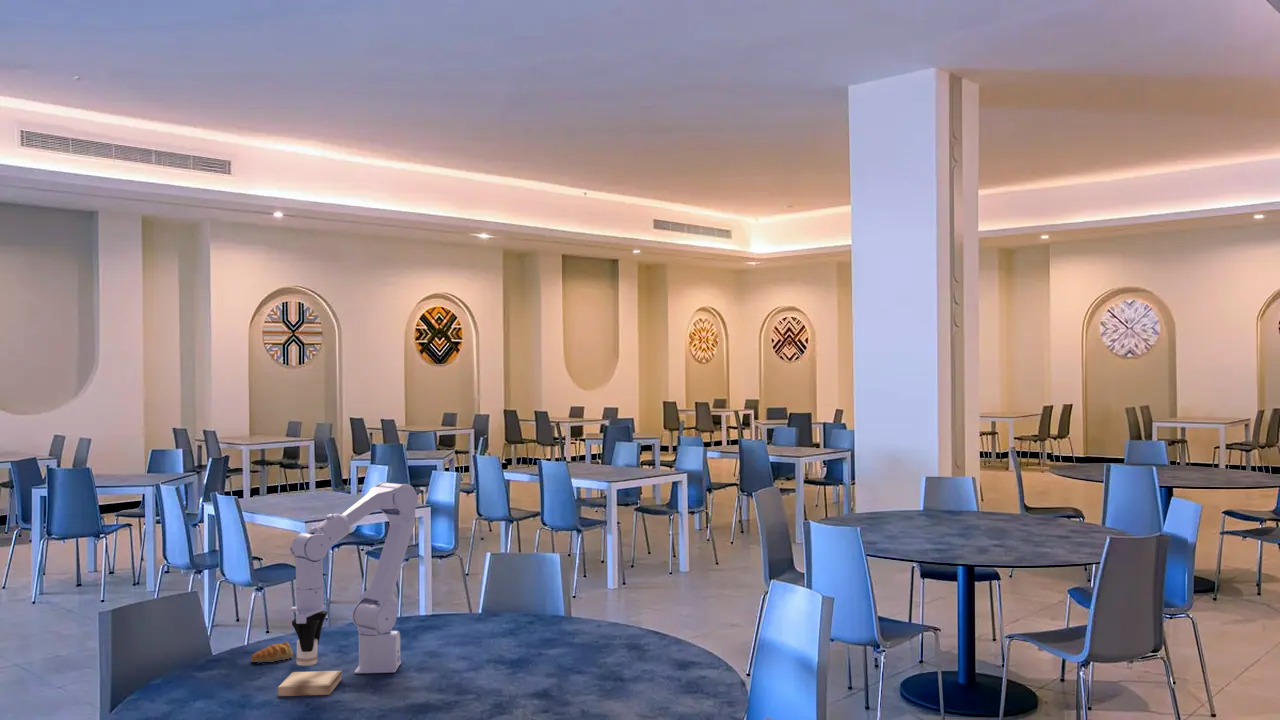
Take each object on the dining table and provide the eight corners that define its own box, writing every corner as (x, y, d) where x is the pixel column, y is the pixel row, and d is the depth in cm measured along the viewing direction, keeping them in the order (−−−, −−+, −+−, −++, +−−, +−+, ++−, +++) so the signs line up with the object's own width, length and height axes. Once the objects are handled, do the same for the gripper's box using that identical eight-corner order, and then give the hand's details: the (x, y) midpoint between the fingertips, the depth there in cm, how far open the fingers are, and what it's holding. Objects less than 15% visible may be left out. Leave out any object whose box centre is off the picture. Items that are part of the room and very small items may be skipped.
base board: (341, 679, 232) (341, 670, 232) (329, 694, 221) (329, 685, 221) (292, 680, 232) (292, 671, 232) (278, 696, 221) (278, 686, 221)
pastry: (257, 667, 244) (257, 651, 244) (246, 662, 249) (246, 646, 249) (295, 659, 250) (295, 643, 250) (283, 654, 255) (283, 639, 255)
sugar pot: (320, 660, 228) (321, 638, 228) (311, 666, 224) (312, 643, 224) (301, 659, 229) (302, 637, 229) (292, 665, 224) (293, 642, 224)
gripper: (300, 581, 234) (301, 640, 234) (281, 594, 219) (282, 657, 219) (331, 580, 234) (332, 639, 234) (314, 594, 220) (315, 656, 219)
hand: (310, 648), depth 226 cm, fingers closed on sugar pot, 4 cm apart
